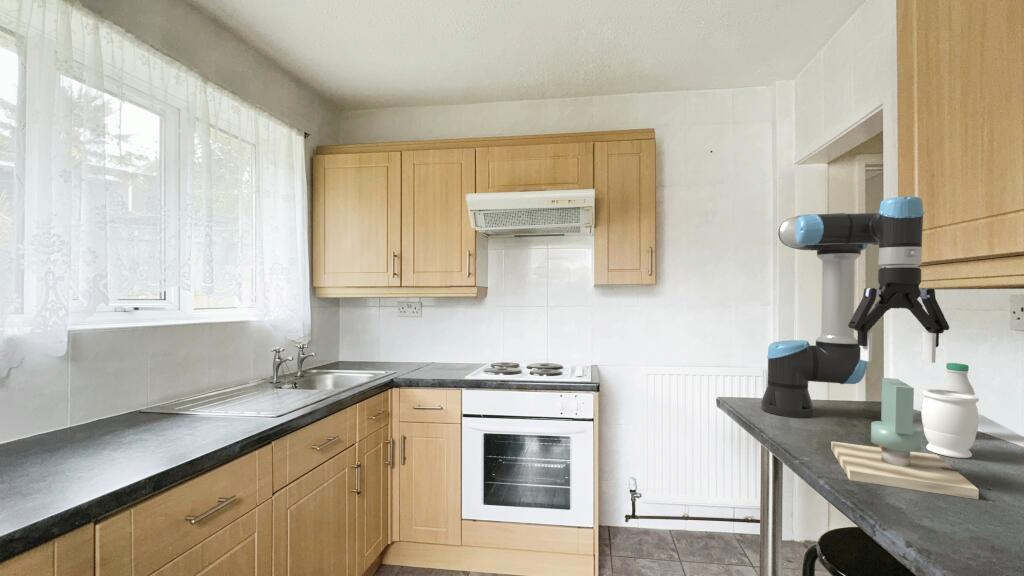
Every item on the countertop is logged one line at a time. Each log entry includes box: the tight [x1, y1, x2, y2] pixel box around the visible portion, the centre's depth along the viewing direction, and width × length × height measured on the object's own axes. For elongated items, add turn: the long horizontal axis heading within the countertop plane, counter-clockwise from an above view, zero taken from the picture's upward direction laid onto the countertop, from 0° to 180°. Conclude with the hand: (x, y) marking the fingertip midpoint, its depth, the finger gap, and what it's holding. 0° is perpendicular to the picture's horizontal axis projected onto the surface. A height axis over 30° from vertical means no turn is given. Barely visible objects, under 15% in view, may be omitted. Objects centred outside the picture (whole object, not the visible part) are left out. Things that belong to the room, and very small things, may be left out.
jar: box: [920, 388, 980, 459], centre depth 120 cm, size 11×10×15 cm
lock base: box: [830, 441, 980, 500], centre depth 108 cm, size 22×22×6 cm
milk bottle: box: [938, 362, 976, 396], centre depth 135 cm, size 8×8×20 cm
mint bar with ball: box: [870, 377, 924, 452], centre depth 108 cm, size 9×13×14 cm
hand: (897, 361), depth 108 cm, fingers open, 13 cm apart
